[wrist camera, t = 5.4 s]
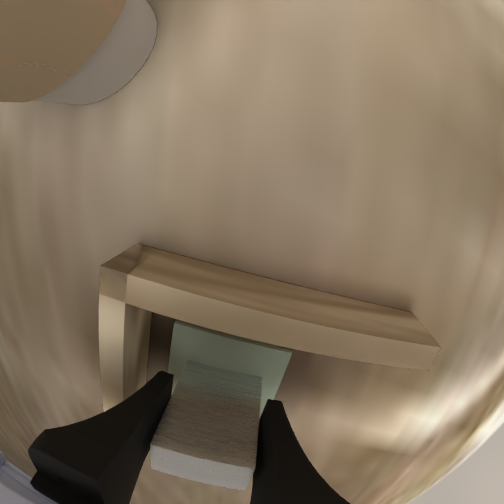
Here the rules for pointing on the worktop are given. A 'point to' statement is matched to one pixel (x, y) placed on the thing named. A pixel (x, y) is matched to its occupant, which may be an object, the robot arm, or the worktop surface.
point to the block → (210, 427)
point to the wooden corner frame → (237, 323)
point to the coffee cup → (72, 48)
